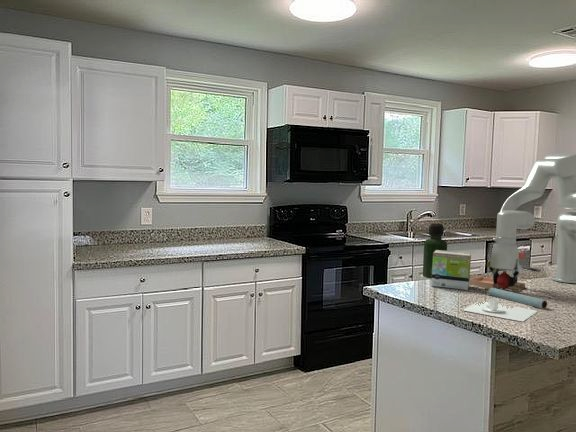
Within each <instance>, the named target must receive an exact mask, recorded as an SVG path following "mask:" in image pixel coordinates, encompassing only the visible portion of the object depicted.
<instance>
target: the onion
mask: <svg viewBox="0 0 576 432" xmlns="http://www.w3.org/2000/svg"><path fill="white" fill-rule="evenodd" d="M509 277H511V275H510V273H509V274H508V273H507V270H503V271H502V272H501V273H499V276H498V277H497V284H498V286H499V289H501V290H504V291H506V290H508V289H507V288H508V287H509Z"/></svg>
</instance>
